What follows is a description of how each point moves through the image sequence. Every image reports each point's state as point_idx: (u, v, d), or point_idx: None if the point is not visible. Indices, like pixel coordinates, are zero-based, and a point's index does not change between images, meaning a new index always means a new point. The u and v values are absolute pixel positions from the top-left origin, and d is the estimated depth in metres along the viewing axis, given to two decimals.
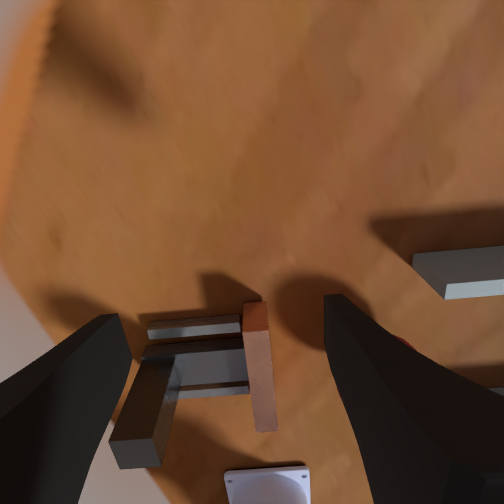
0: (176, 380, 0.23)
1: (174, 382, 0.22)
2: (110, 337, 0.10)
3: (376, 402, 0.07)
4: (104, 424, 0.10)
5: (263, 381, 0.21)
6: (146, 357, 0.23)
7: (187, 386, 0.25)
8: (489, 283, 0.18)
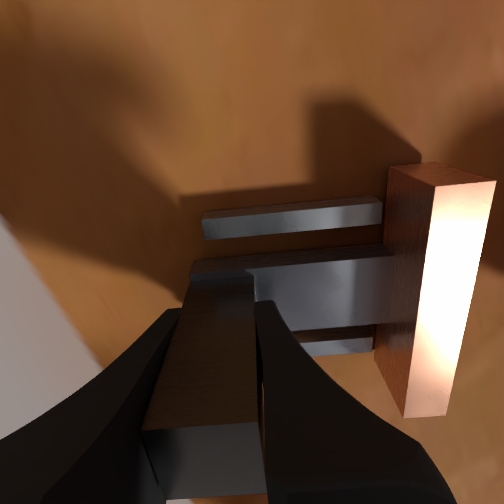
0: None
1: None
2: None
3: None
4: None
5: (447, 310, 0.10)
6: (198, 274, 0.12)
7: None
8: None
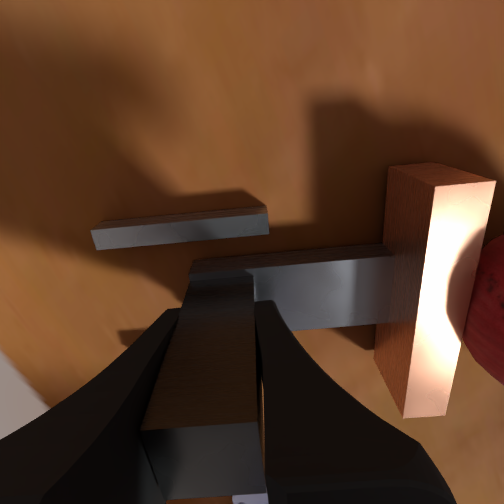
0: None
1: None
2: None
3: None
4: None
5: (446, 310, 0.10)
6: (198, 274, 0.12)
7: None
8: None
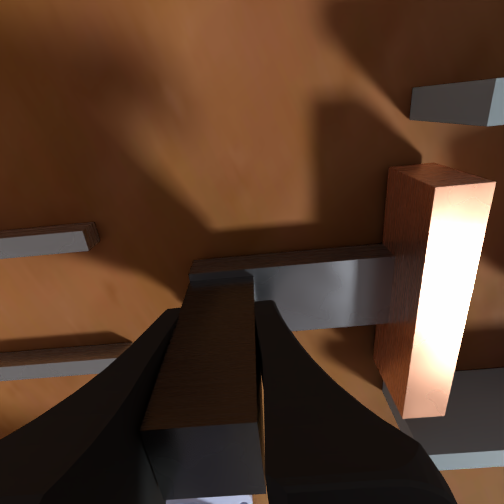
0: None
1: None
2: None
3: None
4: None
5: (447, 311, 0.10)
6: (198, 274, 0.12)
7: (25, 358, 0.15)
8: None
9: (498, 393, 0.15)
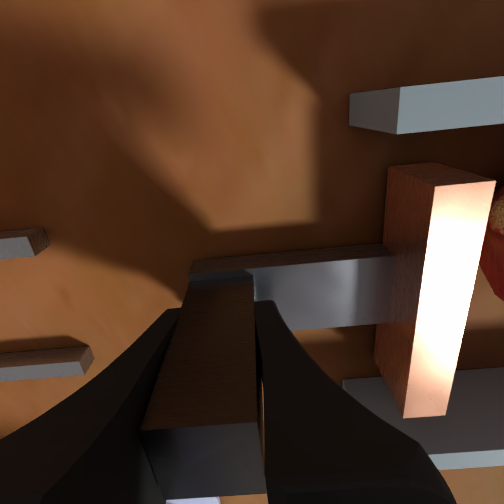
0: None
1: None
2: None
3: None
4: None
5: (447, 310, 0.10)
6: (198, 274, 0.12)
7: None
8: None
9: (452, 396, 0.15)
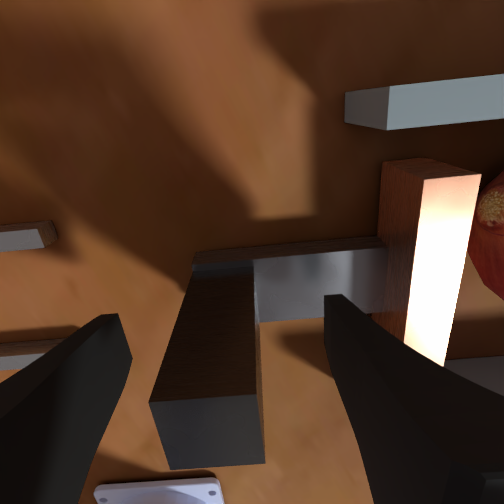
0: None
1: (256, 306, 0.12)
2: (110, 337, 0.10)
3: (376, 402, 0.07)
4: (104, 424, 0.10)
5: (437, 297, 0.11)
6: (200, 265, 0.13)
7: None
8: (486, 85, 0.08)
9: None
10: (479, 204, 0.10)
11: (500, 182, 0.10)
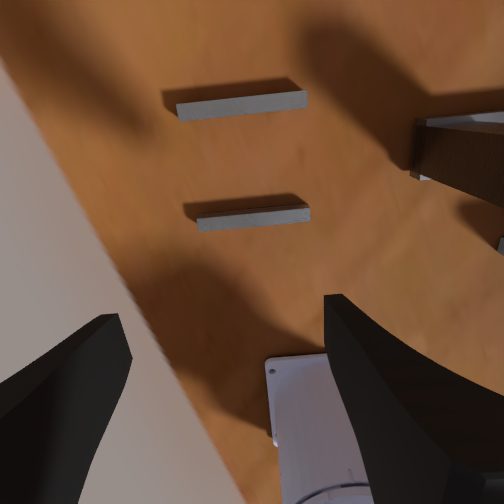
0: None
1: None
2: (110, 337, 0.10)
3: (376, 402, 0.07)
4: (104, 424, 0.10)
5: None
6: (434, 120, 0.16)
7: (226, 213, 0.19)
8: None
9: None
10: None
11: None
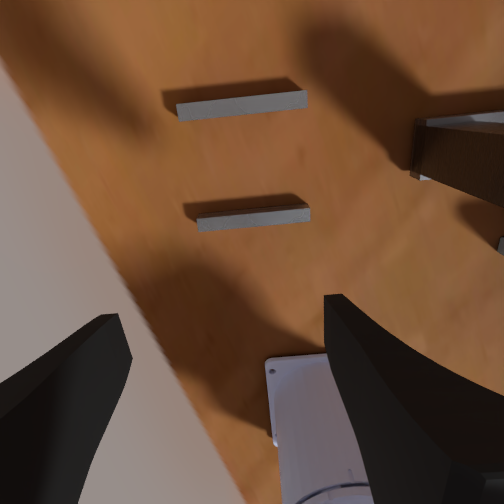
0: None
1: None
2: (110, 337, 0.10)
3: (376, 402, 0.07)
4: (104, 424, 0.10)
5: None
6: (434, 120, 0.16)
7: (226, 213, 0.19)
8: None
9: None
10: None
11: None
